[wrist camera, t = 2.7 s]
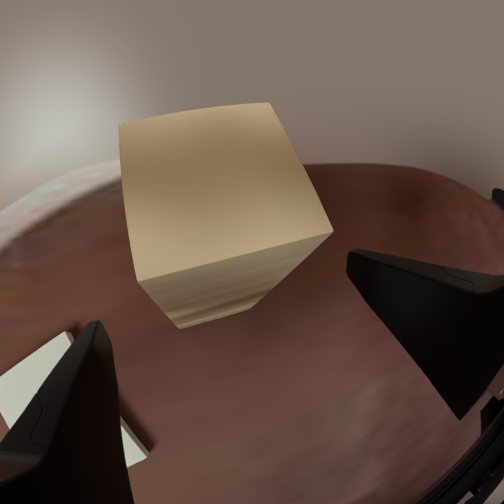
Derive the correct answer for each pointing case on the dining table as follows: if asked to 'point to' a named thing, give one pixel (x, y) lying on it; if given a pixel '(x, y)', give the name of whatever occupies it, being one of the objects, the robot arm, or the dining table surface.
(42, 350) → the tile
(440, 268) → the robot arm
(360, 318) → the dining table surface
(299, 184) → the oak block
